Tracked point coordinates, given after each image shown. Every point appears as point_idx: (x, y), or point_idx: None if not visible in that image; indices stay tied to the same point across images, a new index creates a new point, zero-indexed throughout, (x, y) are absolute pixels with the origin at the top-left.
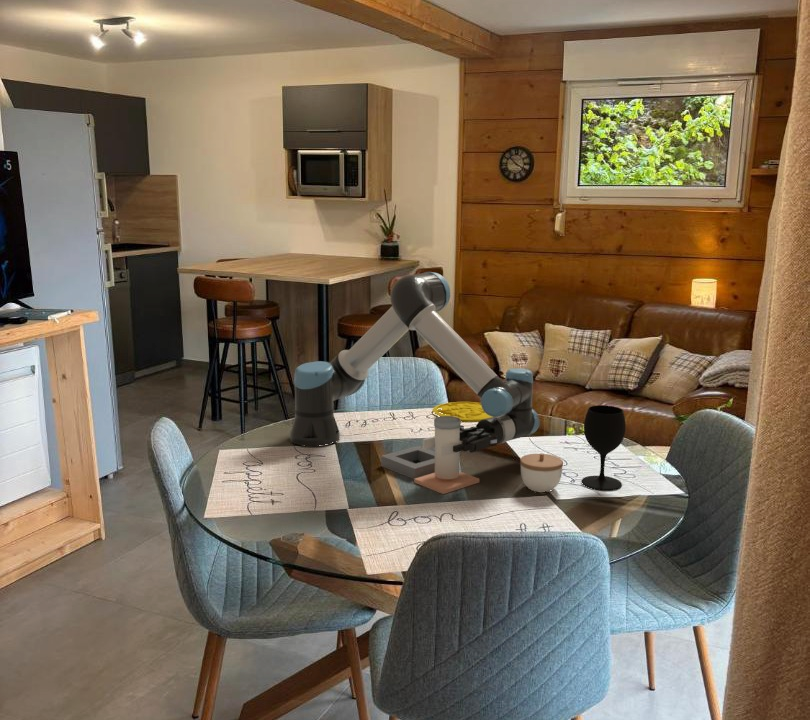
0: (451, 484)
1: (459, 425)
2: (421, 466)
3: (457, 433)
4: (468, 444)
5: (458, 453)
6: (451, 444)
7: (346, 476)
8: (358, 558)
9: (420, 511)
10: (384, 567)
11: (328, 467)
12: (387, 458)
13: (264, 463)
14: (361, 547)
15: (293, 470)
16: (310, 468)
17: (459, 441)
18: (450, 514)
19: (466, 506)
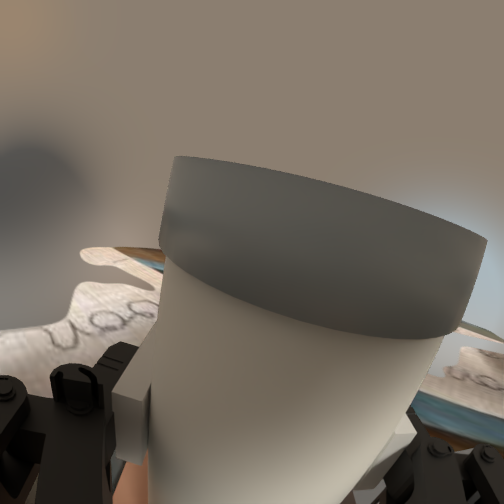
0: (146, 494)
1: (163, 218)
2: (356, 494)
3: (159, 307)
4: (42, 408)
5: (149, 477)
6: (153, 326)
7: (417, 394)
8: (131, 256)
9: (130, 343)
10: (96, 249)
11: (470, 396)
12: (468, 449)
13: (487, 356)
14: (143, 266)
15: (459, 363)
16: (467, 378)
17: (127, 377)
18: (58, 345)
19: (31, 386)
